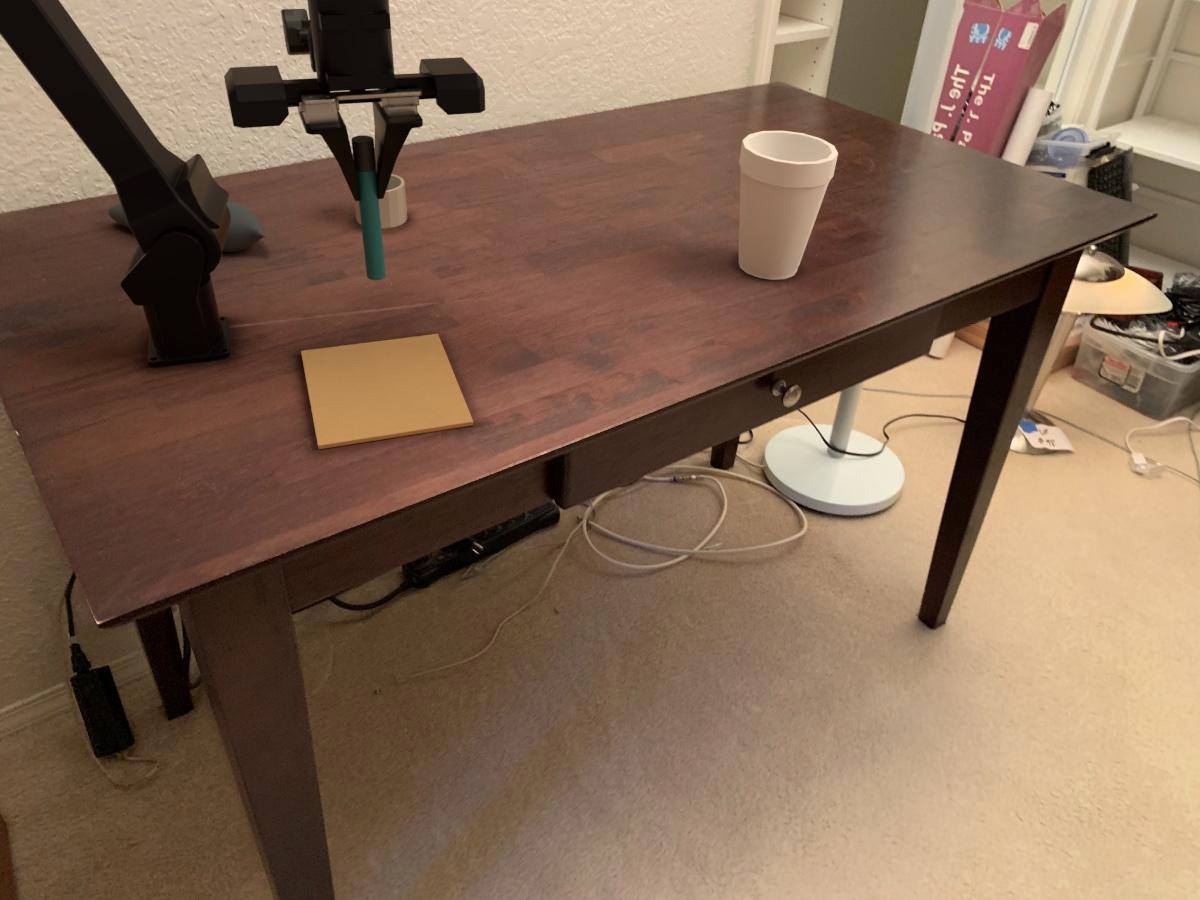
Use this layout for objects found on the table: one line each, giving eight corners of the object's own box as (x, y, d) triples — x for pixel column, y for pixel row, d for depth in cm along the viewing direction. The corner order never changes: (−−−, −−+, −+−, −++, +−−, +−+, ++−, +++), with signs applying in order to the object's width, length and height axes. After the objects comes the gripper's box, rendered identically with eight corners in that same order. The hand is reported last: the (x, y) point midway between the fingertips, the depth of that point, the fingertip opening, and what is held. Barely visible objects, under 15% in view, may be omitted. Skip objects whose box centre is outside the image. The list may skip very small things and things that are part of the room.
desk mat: (473, 425, 73) (473, 421, 73) (318, 449, 70) (317, 445, 69) (438, 337, 83) (437, 333, 83) (301, 354, 80) (300, 350, 80)
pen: (388, 279, 79) (375, 141, 72) (368, 281, 79) (353, 143, 71) (384, 270, 80) (371, 134, 73) (364, 273, 80) (349, 135, 73)
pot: (411, 229, 101) (408, 190, 98) (360, 233, 99) (356, 194, 97) (402, 209, 105) (399, 171, 102) (353, 213, 103) (349, 174, 101)
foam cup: (741, 240, 104) (760, 124, 96) (821, 259, 101) (847, 142, 93) (712, 272, 97) (729, 151, 89) (796, 295, 94) (822, 171, 86)
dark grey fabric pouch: (89, 237, 95) (75, 190, 92) (119, 218, 99) (107, 173, 96) (264, 267, 92) (256, 220, 89) (288, 246, 96) (281, 201, 93)
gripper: (448, -35, 74) (455, 154, 84) (202, -32, 68) (241, 171, 78) (485, -3, 66) (488, 202, 76) (210, 3, 60) (252, 225, 70)
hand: (368, 198), depth 75 cm, fingers closed on pen, 1 cm apart
